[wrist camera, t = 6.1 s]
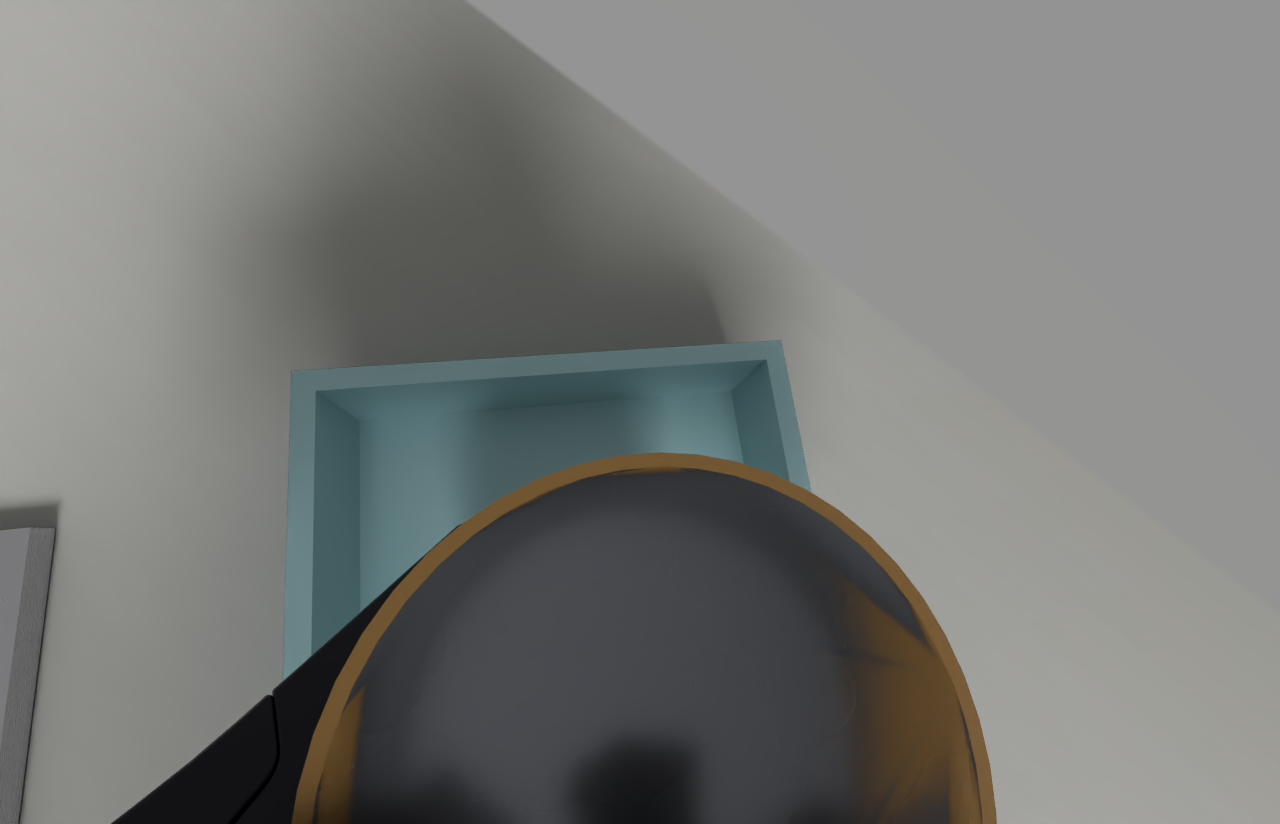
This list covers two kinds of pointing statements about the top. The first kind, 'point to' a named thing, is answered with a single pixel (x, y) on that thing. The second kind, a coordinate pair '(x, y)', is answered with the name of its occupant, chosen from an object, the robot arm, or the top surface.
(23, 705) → the stud plate
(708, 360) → the tray
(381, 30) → the top surface
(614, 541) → the grey gold-rimmed cylinder
